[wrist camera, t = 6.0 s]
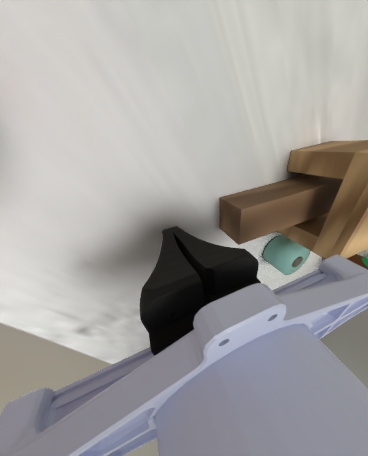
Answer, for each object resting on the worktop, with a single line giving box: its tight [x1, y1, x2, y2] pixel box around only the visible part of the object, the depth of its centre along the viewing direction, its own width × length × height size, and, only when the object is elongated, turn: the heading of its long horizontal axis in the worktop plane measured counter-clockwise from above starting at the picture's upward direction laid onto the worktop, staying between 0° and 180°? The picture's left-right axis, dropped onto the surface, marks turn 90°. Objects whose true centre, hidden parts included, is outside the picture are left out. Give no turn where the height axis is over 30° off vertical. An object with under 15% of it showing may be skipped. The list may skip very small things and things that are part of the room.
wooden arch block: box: [277, 140, 368, 259], centre depth 14 cm, size 9×6×7 cm, turn 9°
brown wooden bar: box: [220, 174, 344, 245], centre depth 15 cm, size 3×15×3 cm, turn 98°
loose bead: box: [263, 235, 310, 275], centre depth 19 cm, size 4×4×3 cm
